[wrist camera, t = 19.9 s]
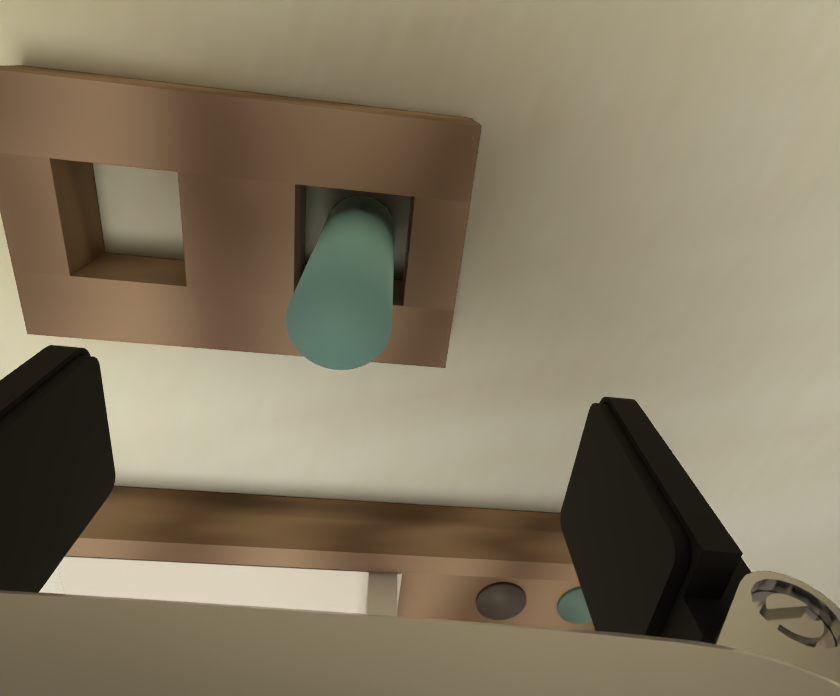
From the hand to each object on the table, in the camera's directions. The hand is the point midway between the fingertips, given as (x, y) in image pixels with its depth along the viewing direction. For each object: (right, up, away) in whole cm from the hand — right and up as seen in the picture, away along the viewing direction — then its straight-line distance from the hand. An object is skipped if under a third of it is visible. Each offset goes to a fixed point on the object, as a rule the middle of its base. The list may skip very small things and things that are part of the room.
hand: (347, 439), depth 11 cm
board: (-1, -9, +17) cm, 19 cm away
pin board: (-4, +6, +9) cm, 12 cm away
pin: (-1, +6, +9) cm, 11 cm away
